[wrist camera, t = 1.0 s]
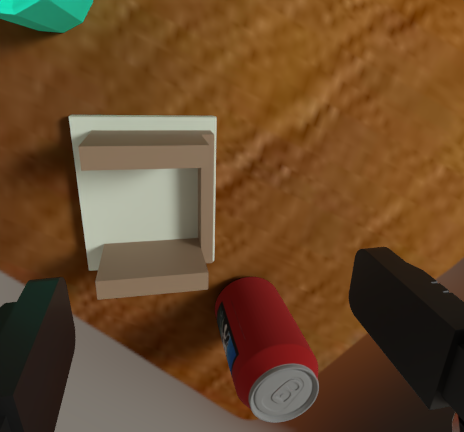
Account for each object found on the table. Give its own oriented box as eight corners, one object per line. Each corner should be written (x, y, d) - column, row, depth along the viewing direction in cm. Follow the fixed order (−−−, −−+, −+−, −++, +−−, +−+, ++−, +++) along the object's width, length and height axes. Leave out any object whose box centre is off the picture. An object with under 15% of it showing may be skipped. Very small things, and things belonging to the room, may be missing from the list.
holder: (71, 114, 28) (48, 129, 21) (214, 115, 30) (232, 129, 24) (90, 265, 33) (77, 313, 26) (212, 256, 35) (227, 298, 29)
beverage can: (199, 306, 37) (221, 407, 26) (246, 260, 36) (289, 344, 25) (244, 337, 40) (281, 441, 29) (289, 295, 39) (344, 385, 28)
